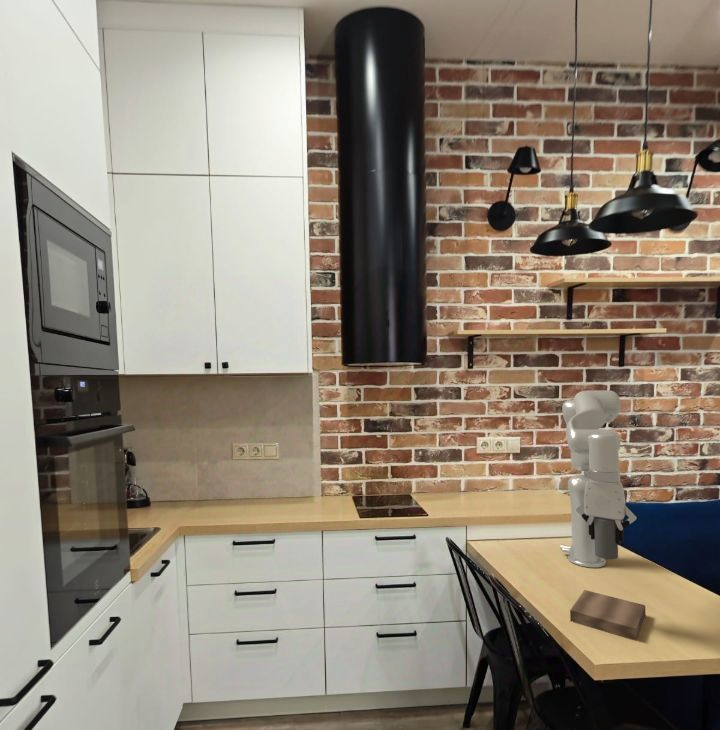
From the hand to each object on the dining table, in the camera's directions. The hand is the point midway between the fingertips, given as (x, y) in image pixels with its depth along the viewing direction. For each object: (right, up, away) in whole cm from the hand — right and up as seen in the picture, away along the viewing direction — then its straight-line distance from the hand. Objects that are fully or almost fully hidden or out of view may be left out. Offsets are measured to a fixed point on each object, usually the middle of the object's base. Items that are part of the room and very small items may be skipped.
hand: (606, 540), depth 131 cm
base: (0, -22, -1) cm, 22 cm away
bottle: (0, -5, 0) cm, 5 cm away
